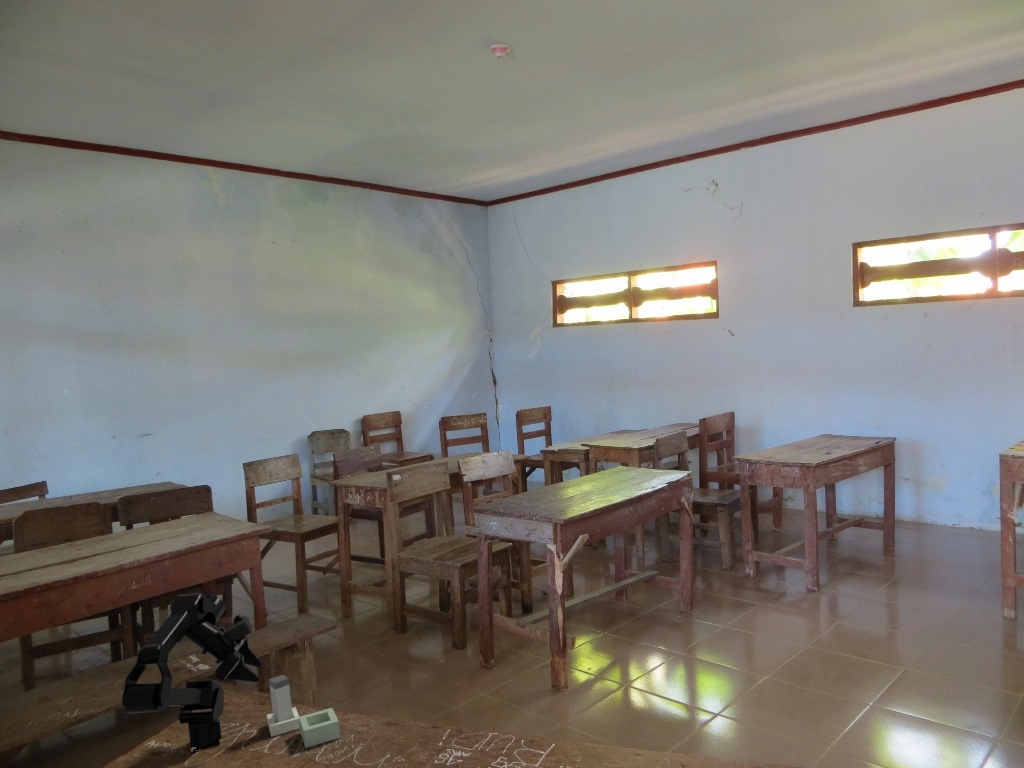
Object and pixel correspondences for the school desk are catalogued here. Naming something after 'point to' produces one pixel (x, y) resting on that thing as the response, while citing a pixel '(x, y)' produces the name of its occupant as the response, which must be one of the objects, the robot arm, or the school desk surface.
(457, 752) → the school desk surface
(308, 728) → the raised socket
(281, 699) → the plug
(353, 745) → the school desk surface
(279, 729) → the low collar
